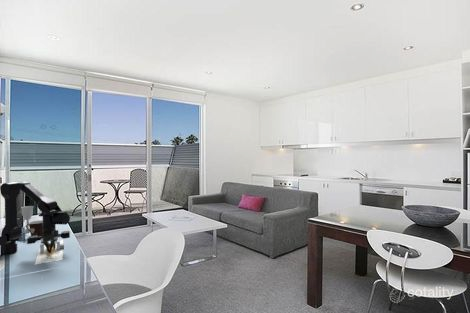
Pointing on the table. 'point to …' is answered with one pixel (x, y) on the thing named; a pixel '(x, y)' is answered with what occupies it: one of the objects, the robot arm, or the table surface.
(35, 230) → the coffee mug
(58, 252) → the mount plate
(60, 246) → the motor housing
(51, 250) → the plug
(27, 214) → the chalice
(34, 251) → the table surface
